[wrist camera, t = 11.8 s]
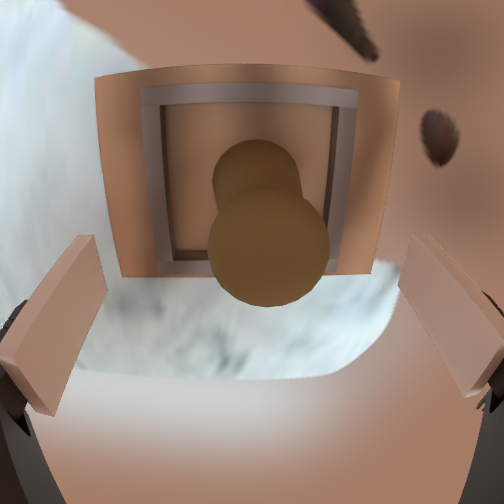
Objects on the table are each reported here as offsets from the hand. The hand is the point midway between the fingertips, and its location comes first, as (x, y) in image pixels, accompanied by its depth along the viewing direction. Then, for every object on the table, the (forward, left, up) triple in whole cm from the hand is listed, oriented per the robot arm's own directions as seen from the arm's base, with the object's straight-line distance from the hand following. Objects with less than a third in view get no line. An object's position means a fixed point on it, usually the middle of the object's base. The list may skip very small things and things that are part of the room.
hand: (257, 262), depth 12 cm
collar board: (0, 0, -12) cm, 12 cm away
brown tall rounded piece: (+1, 0, -11) cm, 11 cm away
